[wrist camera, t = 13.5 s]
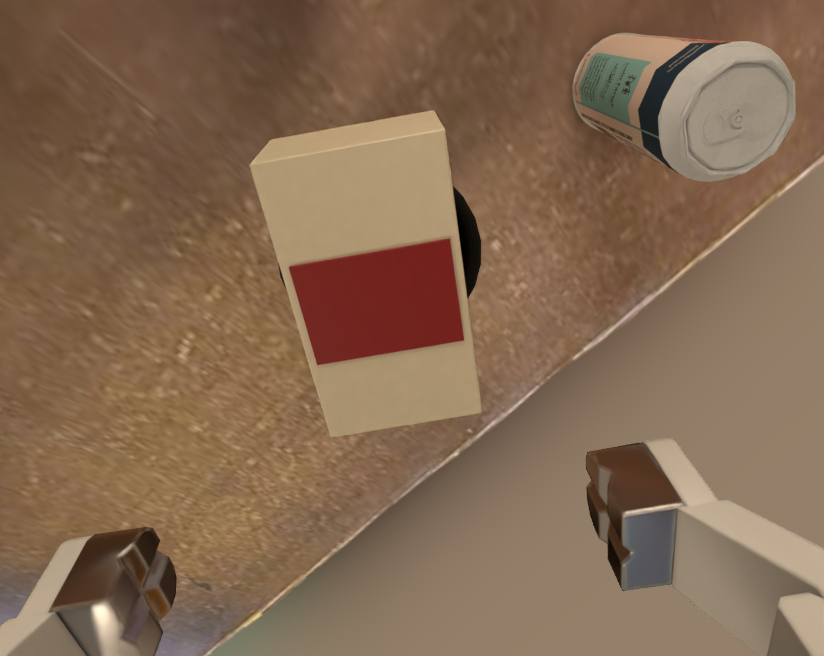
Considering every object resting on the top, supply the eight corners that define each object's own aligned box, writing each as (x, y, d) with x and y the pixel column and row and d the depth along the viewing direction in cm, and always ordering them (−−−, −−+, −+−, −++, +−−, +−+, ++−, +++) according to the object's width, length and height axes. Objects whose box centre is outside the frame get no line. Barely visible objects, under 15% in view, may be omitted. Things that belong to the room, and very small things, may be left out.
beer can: (665, 111, 31) (811, 161, 21) (579, 143, 32) (678, 207, 21) (652, 17, 29) (809, 19, 19) (560, 52, 30) (661, 74, 19)
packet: (468, 360, 24) (483, 415, 21) (336, 382, 24) (330, 440, 21) (434, 109, 19) (445, 128, 16) (269, 139, 19) (247, 165, 16)
